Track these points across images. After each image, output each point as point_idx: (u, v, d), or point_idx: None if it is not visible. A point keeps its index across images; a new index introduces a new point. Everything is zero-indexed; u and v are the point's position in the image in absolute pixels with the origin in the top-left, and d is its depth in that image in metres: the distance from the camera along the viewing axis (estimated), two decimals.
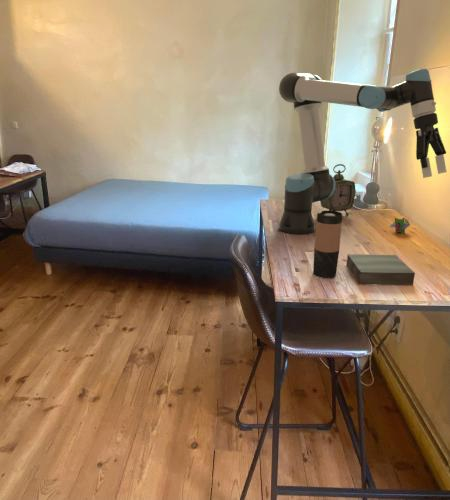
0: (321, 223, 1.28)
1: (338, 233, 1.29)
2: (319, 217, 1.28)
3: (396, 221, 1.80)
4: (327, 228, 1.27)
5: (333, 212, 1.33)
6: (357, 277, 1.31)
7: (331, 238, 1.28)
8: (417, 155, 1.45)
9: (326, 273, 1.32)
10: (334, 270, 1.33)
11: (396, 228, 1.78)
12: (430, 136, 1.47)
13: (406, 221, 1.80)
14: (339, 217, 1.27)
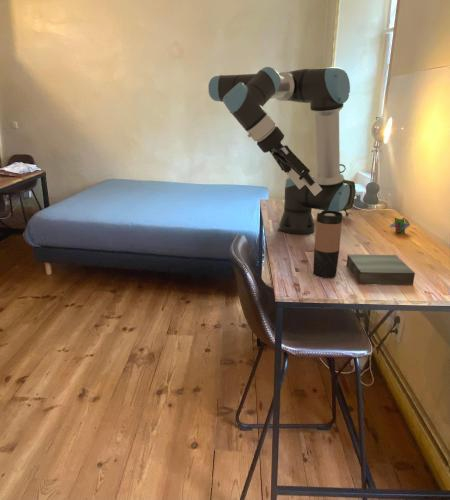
0: (321, 223, 1.28)
1: (338, 233, 1.29)
2: (319, 217, 1.28)
3: (396, 221, 1.80)
4: (327, 228, 1.27)
5: (333, 212, 1.33)
6: (357, 277, 1.31)
7: (331, 238, 1.28)
8: None
9: (326, 273, 1.32)
10: (334, 270, 1.33)
11: (396, 228, 1.78)
12: (275, 158, 1.26)
13: (406, 221, 1.80)
14: (339, 217, 1.27)
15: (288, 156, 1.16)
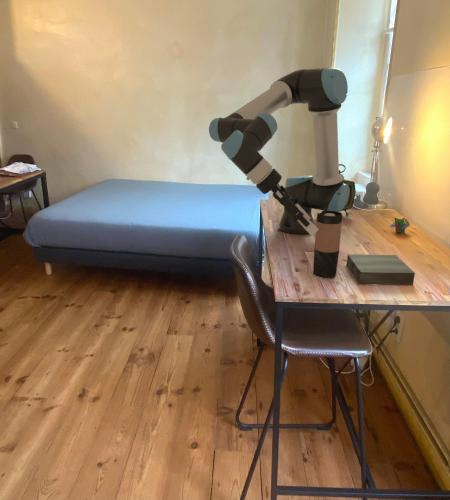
0: (321, 223, 1.28)
1: (338, 233, 1.29)
2: (319, 217, 1.28)
3: (396, 221, 1.80)
4: (327, 228, 1.27)
5: (333, 212, 1.33)
6: (357, 277, 1.31)
7: (331, 238, 1.28)
8: None
9: (326, 273, 1.32)
10: (334, 270, 1.33)
11: (396, 228, 1.78)
12: None
13: (406, 221, 1.80)
14: (339, 217, 1.27)
15: (282, 200, 1.21)
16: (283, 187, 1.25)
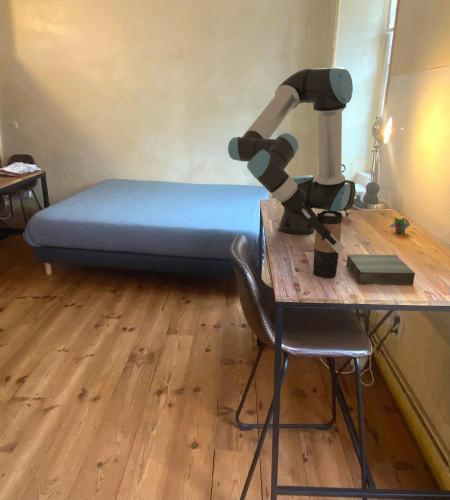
0: None
1: (338, 233, 1.29)
2: (319, 217, 1.28)
3: (396, 221, 1.80)
4: (327, 228, 1.27)
5: (333, 212, 1.33)
6: (357, 277, 1.31)
7: None
8: None
9: (326, 273, 1.32)
10: (334, 270, 1.33)
11: (396, 228, 1.78)
12: None
13: (406, 221, 1.80)
14: (339, 217, 1.27)
15: (310, 220, 1.24)
16: (308, 205, 1.28)
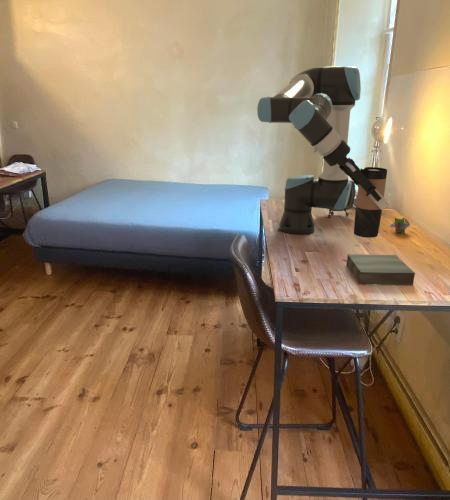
0: None
1: (383, 189, 1.23)
2: (363, 172, 1.23)
3: (396, 221, 1.80)
4: (372, 183, 1.22)
5: (376, 169, 1.27)
6: (357, 277, 1.31)
7: None
8: None
9: (369, 232, 1.27)
10: (377, 229, 1.27)
11: (396, 228, 1.78)
12: None
13: (406, 221, 1.80)
14: (384, 172, 1.21)
15: (355, 174, 1.18)
16: None
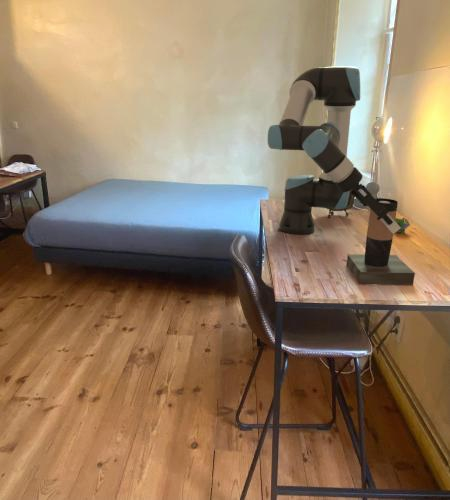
0: None
1: None
2: None
3: (396, 221, 1.80)
4: None
5: (387, 200, 1.31)
6: (357, 277, 1.31)
7: None
8: None
9: (379, 262, 1.31)
10: (387, 259, 1.31)
11: None
12: None
13: (406, 221, 1.80)
14: (395, 204, 1.26)
15: (366, 198, 1.21)
16: None
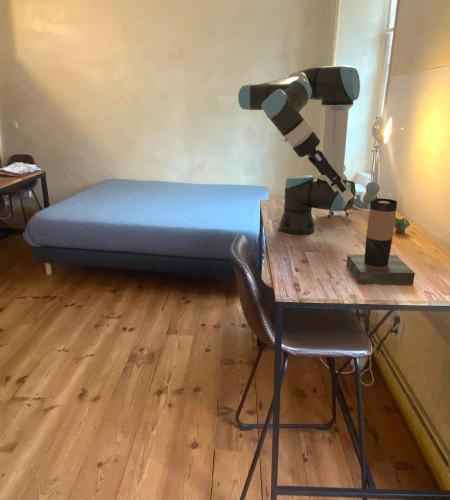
0: (376, 210, 1.27)
1: (393, 220, 1.27)
2: (374, 205, 1.27)
3: (396, 221, 1.80)
4: (382, 215, 1.26)
5: (386, 200, 1.31)
6: (357, 277, 1.31)
7: (386, 226, 1.27)
8: None
9: (379, 262, 1.31)
10: (387, 259, 1.31)
11: (396, 228, 1.78)
12: None
13: (406, 221, 1.80)
14: (394, 204, 1.26)
15: (321, 163, 1.19)
16: (320, 151, 1.24)
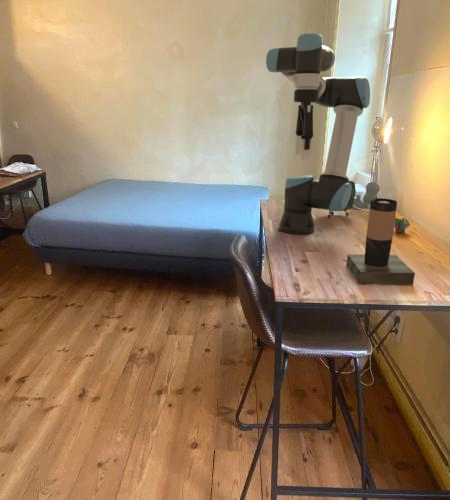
0: (376, 210, 1.27)
1: (393, 220, 1.27)
2: (374, 205, 1.27)
3: (396, 221, 1.80)
4: (382, 215, 1.26)
5: (386, 200, 1.31)
6: (357, 277, 1.31)
7: (386, 226, 1.27)
8: None
9: (379, 262, 1.31)
10: (387, 259, 1.31)
11: (396, 228, 1.78)
12: (298, 114, 1.38)
13: (406, 221, 1.80)
14: (394, 204, 1.26)
15: (307, 114, 1.29)
16: None
